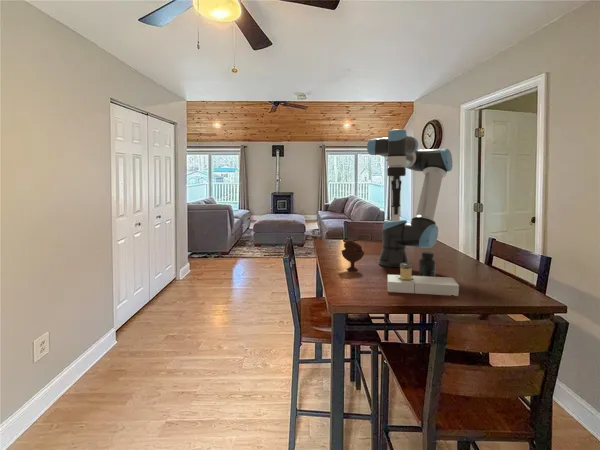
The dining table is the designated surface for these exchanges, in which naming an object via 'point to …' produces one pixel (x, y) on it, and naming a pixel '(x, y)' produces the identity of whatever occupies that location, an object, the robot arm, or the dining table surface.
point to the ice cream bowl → (352, 253)
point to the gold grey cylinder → (405, 271)
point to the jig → (423, 285)
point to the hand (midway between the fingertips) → (395, 221)
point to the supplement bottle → (427, 265)
